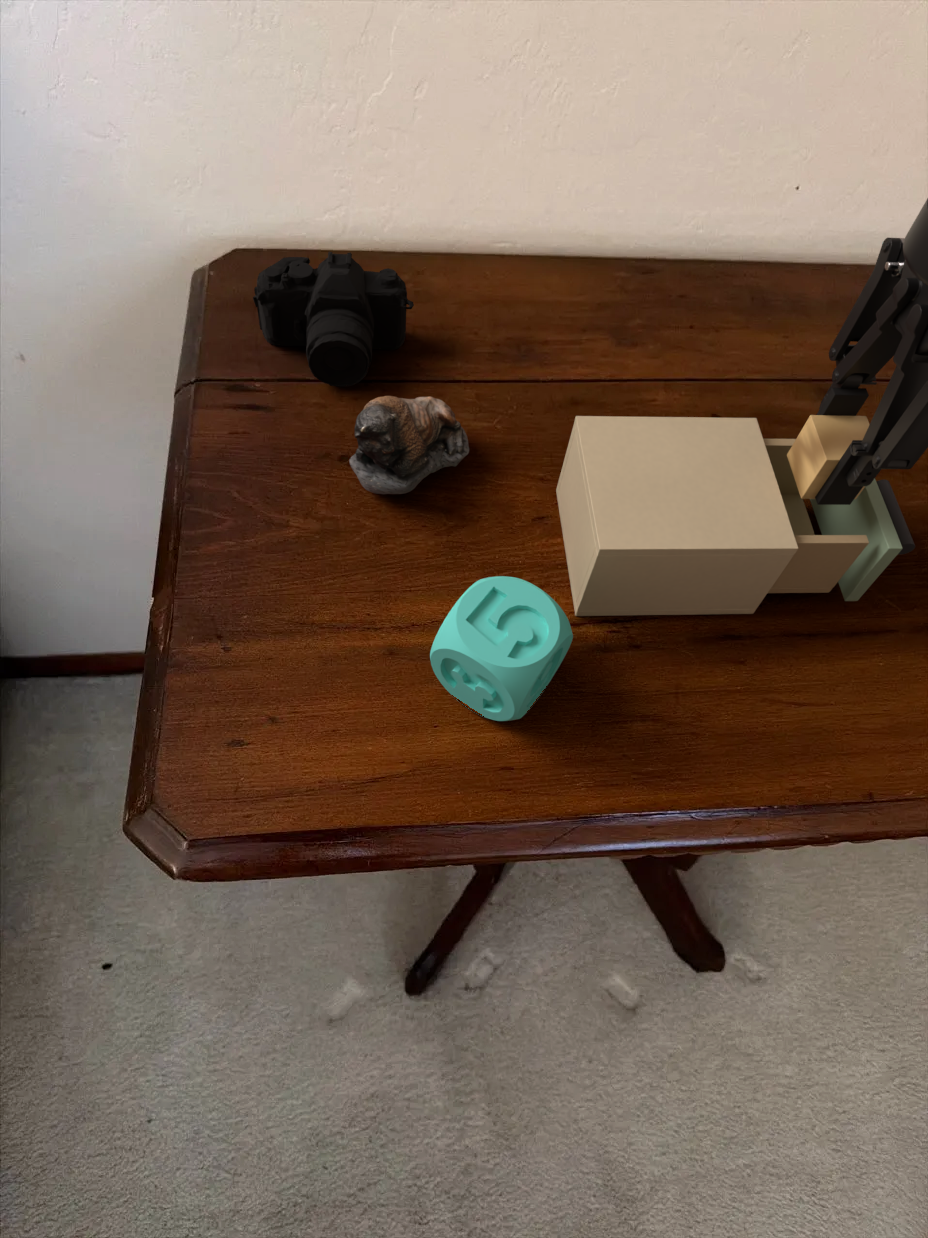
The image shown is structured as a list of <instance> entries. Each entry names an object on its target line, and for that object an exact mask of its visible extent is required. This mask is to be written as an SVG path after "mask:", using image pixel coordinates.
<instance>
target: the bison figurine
mask: <svg viewBox="0 0 928 1238" xmlns="http://www.w3.org/2000/svg"><path fill="white" fill-rule="evenodd" d="M456 418H457V417H456V414H455V412H454V411H453V410H452V408H451V407H450V406H449V405H448V404H447V403H446V402H444V401H443V400H442V399H440V398H435V397H433V396H418V397H415V398H403V397H397V396H393V395H384V396H378V397H375V398H373V399H371V400H370V401H368V402H367V403H366V404H365V405H364V407H363V409H362V410H361V411H360V412H359V414H357V416H356V419H355V425H354V438H355V439H356V441H357V448H356V450H355V453H354V454H353V455H351V456H350V458H349V460H348V461H349V466H350V468H351V469H352V471H353V473H354V474H355V475H356V477H357V479H358V481H359V484H360V485H361V486H362V488H364V490H366V491H368V492H370V493H371V494H372V493H373V494H376V495H403V494H407V493H410V492H412V491H414V489H416V487H417V486H418V485H419V484H420V482H422V480H424V479H425V478H426V477H428V476H429V475H430V474H433V473H435V472H437V471H440V469H445V468H448V467H454V468H456V467H457V466H458V465H459V464H460V462H461V461H462V460H463V459H464V458H466V457H467V456H468V455H469V453H470V446H469V439H468V435H467V433H466V431H465V429H464V428H463V426H462V425H461V422H460V421H458V420H457V419H456Z"/></svg>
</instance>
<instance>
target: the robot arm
mask: <svg viewBox="0 0 928 1238" xmlns="http://www.w3.org/2000/svg"><path fill="white" fill-rule="evenodd" d="M922 205H923V206H922V207H921V208H920V211H919V212H918V214H917V216H916V217H915V219H914V221H913V222H912V224H911V226H910V228H909V230H908V231H907V233H906V235H905V237H886V238H885V239H884V240H883V242H882V244H881V247H880V250H879V252H878V256H877V259H876V261H875V265H874V268H873V270H872V272H871V274H870V276H869V278H868V279H867V281H866V283H865V285H864V286H863V288H862V290H861V292H860V293H859V295H858V297H857V299H856V301H855V303H854V304H853V306H852V308H851V309H850V312H849V313H848V315H847V317H846V318H845V321H844V322H843V324H842V326H841V328H840V329H839V331H838V333H837V335H836V337H835V338H834V340H833V342H832V344H831V346H830V348H829V350H828V358H829V360H830V361H831V362H835V366H836V367H835V368H834V369H833V371H832V374H831V381H832V382H831V384H830V386H829V388H828V390H827V391H826V393H825V394H824V397H823V398H822V400H821V401H820V404H819V408H818V409H819V410H818V411H817V413H816V414H815V415H835V416H858V413H859V412H860V410H861V409H862V407H863V405H864V404H865V402H866V401H867V400H868V398H869V397H870V395H869V392H868V390H867V387H865V388H864V387H860V386H861V385H867V386H868V385H871V386H873V385H874V386H875V385H877V384H878V382H876V381H877V378H876V375H878V373H879V372H880V371H881V370H882V369H883V368H884V366H886V365H887V364H888V363H889V361H890V360H891V359H892V361H893V362H894V364H895V365H896V366H895V368H894V371H893V372H892V375H891V377H890V379H889V381H888V384H887V385H886V388H885V390H884V391H883V395H882V396H881V399H880V400H879V403H878V406H877V408H876V410H875V411H874V414H873V416H872V418H871V420H870V422H869V424H870V425H869V427H868V429H867V431H866V434H865V436H864V438H863V440H853V441H852V442H851V444H850V445H849V447H848V448H847V450H846V451H845V453H844V454H843V456H842V457H841V459H840V461H839V462H838V464H837V465H836V467H835V468H834V470H833V471H832V473H831V474H830V476H829V477H828V479H827V480H826V482H825V483H824V485H823V486H822V488H821V489H820V491H819V492H818V494H817V495H816V497H815V499H816V502H817V505H850V504H851V503H852V501H853V500H854V499H855V497H856V496H857V495H858V493H859V492H860V490H861V489H862V488H863V486H868V485H870V484H871V483H872V481H873V480H874V479H875V480H876V477H877V476H878V475H879V473H880V472H881V471H882V470H911V469H912V468H913V467H914V465H916V463H917V462H918V461H919V460H920V458H921V457H922V456H923V454H924V453H925V452H926V450H927V449H928V197H927V199H926V200H925V202H924V204H922ZM851 342H852V343H853V342H854V343H856V344H851Z"/></svg>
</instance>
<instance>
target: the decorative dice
mask: <svg viewBox="0 0 928 1238" xmlns="http://www.w3.org/2000/svg"><path fill="white" fill-rule="evenodd" d="M573 640H574V634H573V630H572V627H571V624H570V621H569V618H568V616H567V614H566V613H565V612H564V609H563V608H562V607H561V606H560V605H559V604H558V602H557V601H555V599H554V598H552V597H551V596H550V595H549V594H548V593H547V592H546V591H544V590H543V589H541V588H540V587H538V586H537V585H535V584H533V583H531V582H529V581H528V580H525V579H522V578H519V577H514V576H507V575H506V576H505V575H497V576H488V577H483V578H480V579H478V580H476V581H475V582H474V583H472V585H470V586H469V587H468V588H467V589H466V590H465V591H464V592H463V594H462V595H461V596H460V597H459V598H458V599H457V600H456V602H455V603H454V604H453V606H452V608H451V609H450V610H449V612H448V613H447V614H446V616H445V618H444V620H443V622H442V623H441V625H440V626H439V628H438V631H437V633H436V635H435V637H434V640H433V642H432V645H431V647H430V651H429V660H430V666H431V668H432V671H433V673H434V675H435V677H436V678H437V680H438V681H439V683H440V684H441V685H442V687H443V688H444V690H446V692H448V693H449V694H450V696H452V695H453V696H454V697H456V698H457V699H459V700H460V701H462V702H463V703H465V704H467V705H468V706H469V707H470V708H472V709H474V710H475V711H477V712H478V713H480V714H482V716H481V717H483V716H484V717H483V718H485V719H488V720H492V721H497V722H508V721H509V722H510V721H515V720H520V719H522V718H523V717H525V715H526V714H527V713H528V712H529V711H530V709H531V708H532V707H533V706H534V705H533V703H534V702H535V701H536V699H537V698H538V697H539V696H540V697H541V695H542V694H543V692H544V691H545V690H544V689H546V688H547V687H548V685H549V684H550V683H551V681H552V679H553V677H554V676H555V674H556V673H557V671H558V670H559V668H560V666H561V664H562V663H563V661H564V659H565V657H566V655H567V654H568V651H569V649H570V647H571V644H572V642H573ZM546 686H547V687H546ZM543 690H544V691H543ZM542 691H543V692H542ZM541 693H542V694H541ZM540 694H541V695H540ZM453 696H452V697H453ZM454 697H453V698H454ZM540 697H539V698H540ZM539 698H538V699H539ZM457 699H456V700H457ZM538 699H537V700H538ZM536 702H537V701H536ZM536 702H535V703H536ZM535 703H534V704H535ZM532 705H533V706H532ZM531 706H532V707H531ZM530 707H531V708H530ZM528 710H529V711H528ZM527 711H528V712H527Z"/></svg>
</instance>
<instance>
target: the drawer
mask: <svg viewBox="0 0 928 1238" xmlns="http://www.w3.org/2000/svg"><path fill="white" fill-rule="evenodd" d="M763 440H764V443H765V446H766V449H767V452H768V455H769V459H770V462H771V465H772V468H773V471H774V474H775V477H776V480H777V483H778V486H779V490H780V493H781V496H782V499H783V502H784V505H785V508H786V511H787V514H788V518H789V521H790V524H791V527H792V530H793V533H794V536H795V539H796V542H797V545H798V550H797V551H796V553H795V554H794V555H793V557H792V558H791V560H790V561H789V563H788V564H787V566H786V567H785V568H784V570H783V571H782V573H781V574H780V576H779V577H778V579H777V580H776V581H775V583H774V584H773V586H772V587H771V589H770V590H769V592H768V593H767V594H822V593H824V594H825V593H830V592H831V591H832V590H833V588H835V586H836V585H837V584H838V586H839V588H840V592H841V594H842V598H843V600H844V602H858V601H859V600H860V599H861V598H862V596H863V595H864V594H865V593H866V592H867V591H868V589H869V588H870V587H871V586H872V585H873V584H874V582H876V580H877V579H878V578H879V576H881V574H883V572H884V571H885V569H887V567H889V565H890V564H891V563H892V561H893V560H894V559H895V558H896V557H898V555H901V556H902V555H906V554H910V553H911V552H913V551H914V549H915V548H916V544H915V542H914V540H913V537H912V534H911V532H910V529H909V527H908V524H907V522H906V519H905V517H904V515H903V512H902V510H901V506H900V505H899V503H898V500H897V497H896V495H895V493H894V490H893V488H892V485H891V483H890V481H889V480H888V479H879V480H876V478H875V479H874V480H873V481H872V483H871V484H870V485H868V486H865V488H864V489H863V490H862V492H861V493H860V494H859V496H858V497H857V498H856V499H854V500H853V501H852V503H851V504H850V505H817V502H816V499H809V501H810V504H811V508H812V510H813V513H814V517H815V519H816V521H817V524H818V527H819V531H820V533H821V534H815V530H814V528H813V525H812V522H811V518H810V516H809V513H808V510H807V507H806V504H805V501H804V499H801V497H800V494H799V491H798V488H797V484H796V481H795V478H794V475H793V472H792V469H791V466H790V463H789V460H788V457H787V454H788V452H789V450H790V449H791V447H792V445H793V444H794V442H795V440H796V438H763Z"/></svg>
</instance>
